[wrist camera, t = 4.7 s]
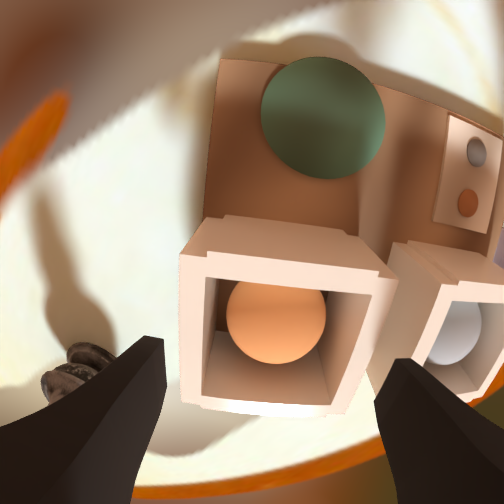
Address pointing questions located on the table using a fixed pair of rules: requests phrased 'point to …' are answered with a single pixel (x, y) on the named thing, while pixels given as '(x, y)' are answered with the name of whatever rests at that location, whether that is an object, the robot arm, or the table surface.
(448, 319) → the grey ball
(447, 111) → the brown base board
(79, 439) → the robot arm
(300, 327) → the orange ball
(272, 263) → the beige open box
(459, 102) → the table surface
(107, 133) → the table surface
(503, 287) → the open square box
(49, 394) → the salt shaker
